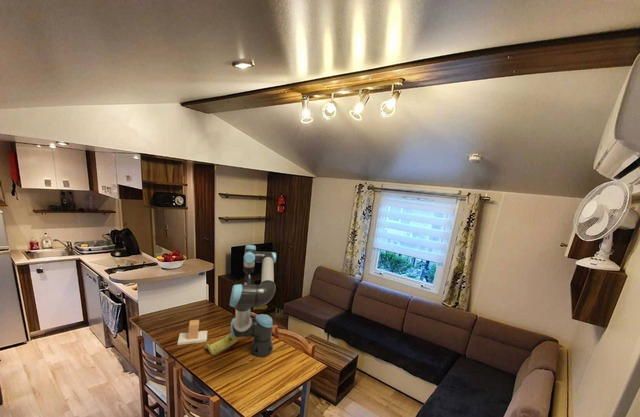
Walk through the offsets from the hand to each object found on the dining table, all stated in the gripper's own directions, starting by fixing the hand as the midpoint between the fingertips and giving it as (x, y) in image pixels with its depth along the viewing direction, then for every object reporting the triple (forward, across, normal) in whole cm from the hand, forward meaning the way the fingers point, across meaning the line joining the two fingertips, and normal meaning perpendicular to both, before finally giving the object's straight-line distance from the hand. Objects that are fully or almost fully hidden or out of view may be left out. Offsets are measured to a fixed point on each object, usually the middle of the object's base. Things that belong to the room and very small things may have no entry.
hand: (246, 294), depth 191 cm
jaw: (+29, -2, -34) cm, 45 cm away
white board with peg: (+31, -2, -34) cm, 46 cm away
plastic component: (+31, +13, -15) cm, 37 cm away
